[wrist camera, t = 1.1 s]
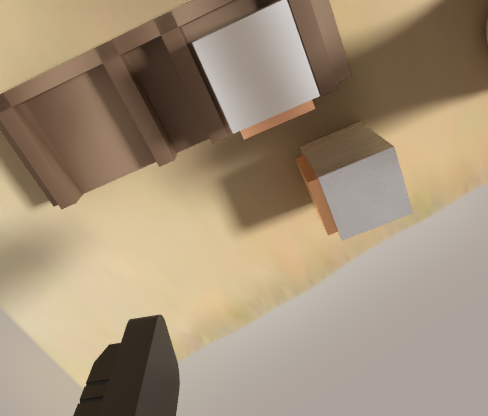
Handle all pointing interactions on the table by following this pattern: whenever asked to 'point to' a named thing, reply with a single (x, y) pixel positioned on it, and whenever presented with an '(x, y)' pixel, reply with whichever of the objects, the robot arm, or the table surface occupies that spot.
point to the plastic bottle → (487, 30)
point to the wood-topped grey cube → (354, 180)
